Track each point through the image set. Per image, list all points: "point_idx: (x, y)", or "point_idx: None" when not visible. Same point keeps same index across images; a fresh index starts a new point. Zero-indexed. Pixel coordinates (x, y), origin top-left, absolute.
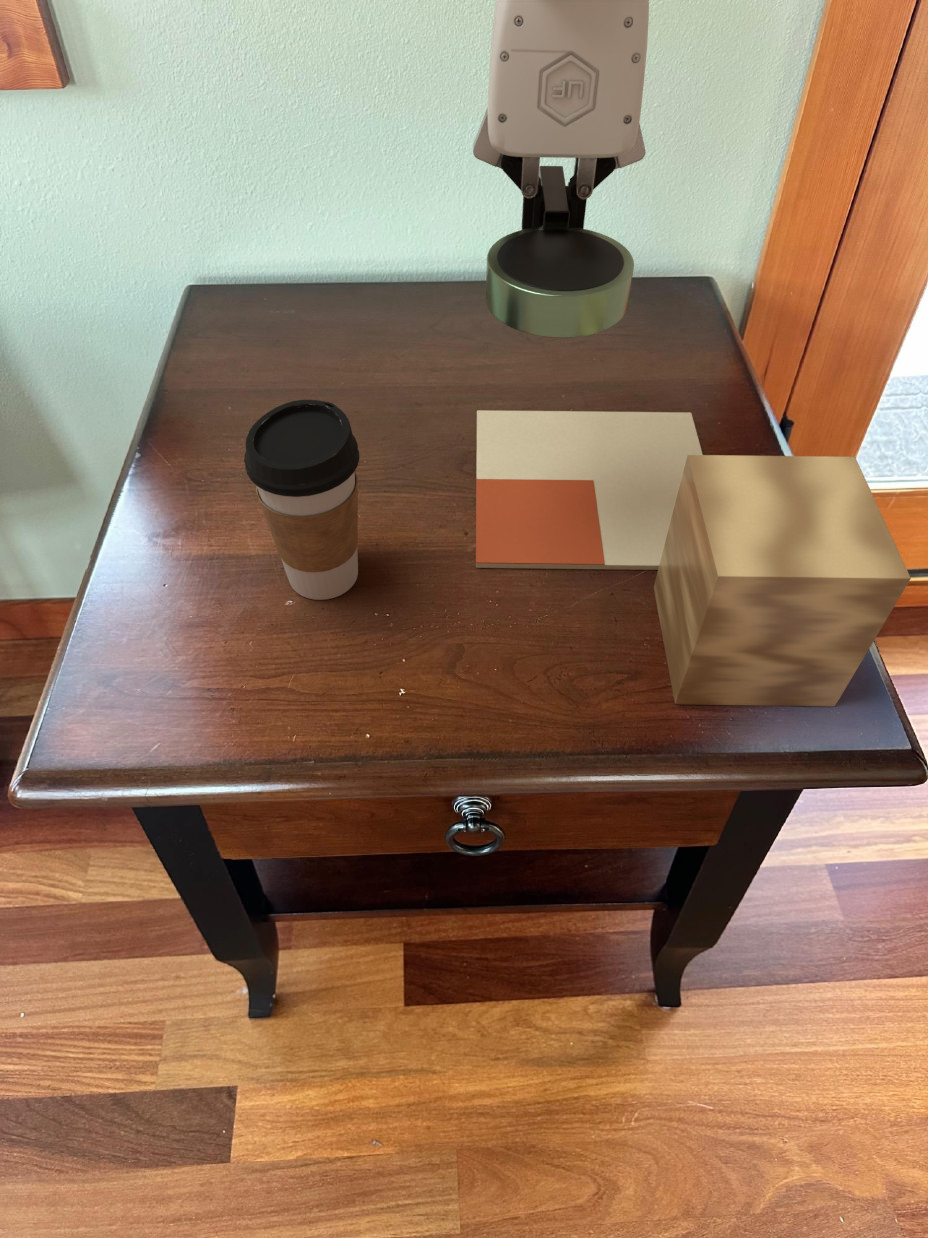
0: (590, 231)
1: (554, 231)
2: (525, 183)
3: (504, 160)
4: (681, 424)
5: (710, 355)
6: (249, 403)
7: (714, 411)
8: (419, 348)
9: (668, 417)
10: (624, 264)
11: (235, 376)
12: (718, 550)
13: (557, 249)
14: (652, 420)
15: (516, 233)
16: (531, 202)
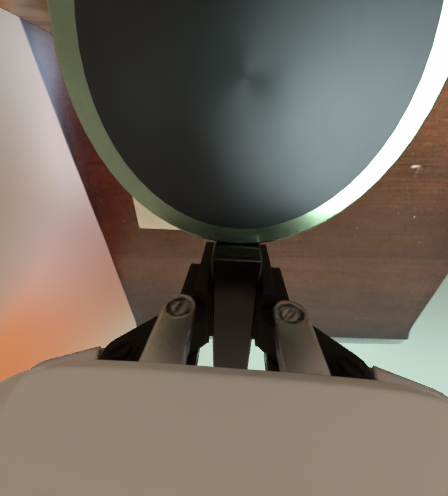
0: (173, 220)
1: (243, 220)
2: (303, 323)
3: (368, 378)
4: (144, 217)
5: (132, 276)
6: (405, 246)
7: (127, 231)
8: (290, 288)
9: (152, 223)
10: (77, 41)
11: (406, 269)
12: None
13: (247, 131)
14: (161, 221)
15: (321, 216)
16: (276, 300)
